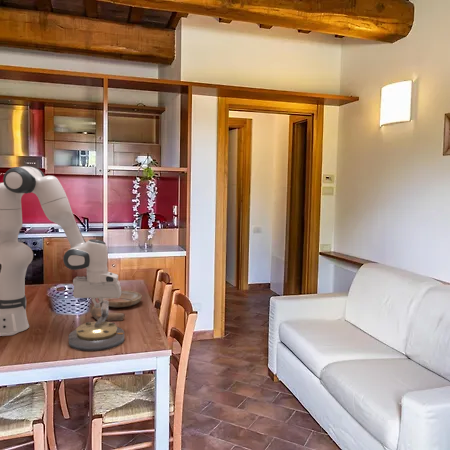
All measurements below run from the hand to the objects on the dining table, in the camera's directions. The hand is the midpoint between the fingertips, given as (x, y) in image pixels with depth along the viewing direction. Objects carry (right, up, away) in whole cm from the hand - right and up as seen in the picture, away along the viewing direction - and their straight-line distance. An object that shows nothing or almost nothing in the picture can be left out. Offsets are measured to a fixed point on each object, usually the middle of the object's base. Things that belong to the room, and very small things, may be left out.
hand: (97, 307), depth 191 cm
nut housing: (+3, -12, -11) cm, 17 cm away
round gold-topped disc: (+3, -8, -8) cm, 12 cm away
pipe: (0, -9, +18) cm, 20 cm away
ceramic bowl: (0, -7, +42) cm, 42 cm away
